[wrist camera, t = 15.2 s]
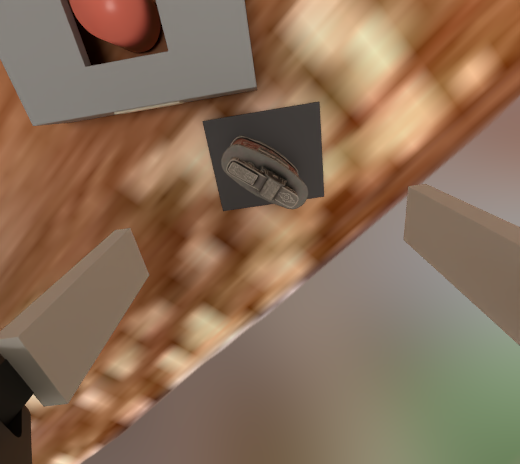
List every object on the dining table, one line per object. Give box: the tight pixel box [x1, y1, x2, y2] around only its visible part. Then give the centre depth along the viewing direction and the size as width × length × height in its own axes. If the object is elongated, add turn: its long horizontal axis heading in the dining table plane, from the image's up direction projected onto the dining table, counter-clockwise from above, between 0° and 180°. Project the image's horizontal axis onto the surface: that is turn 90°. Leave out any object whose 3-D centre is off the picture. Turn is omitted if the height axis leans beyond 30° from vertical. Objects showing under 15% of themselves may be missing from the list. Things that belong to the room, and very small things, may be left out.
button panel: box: [0, 0, 257, 126], centre depth 22 cm, size 20×14×5 cm
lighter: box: [221, 136, 308, 209], centre depth 24 cm, size 8×3×10 cm, turn 60°
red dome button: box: [69, 0, 160, 53], centre depth 21 cm, size 5×5×5 cm
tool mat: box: [203, 102, 324, 211], centre depth 29 cm, size 12×10×1 cm
